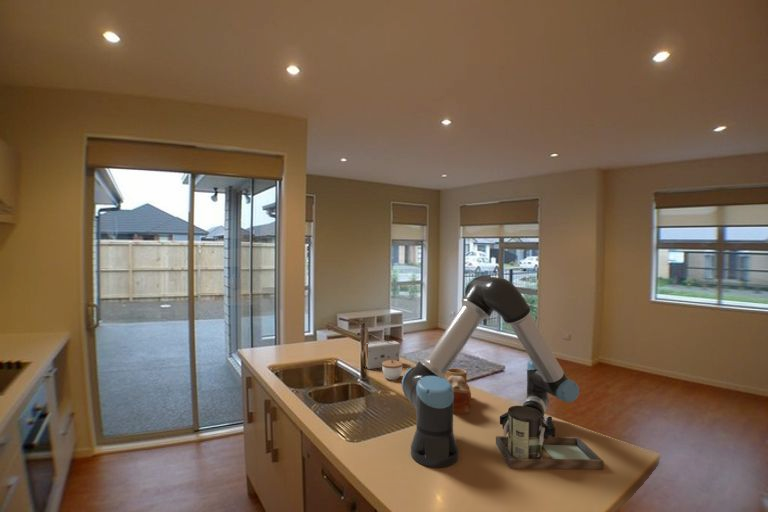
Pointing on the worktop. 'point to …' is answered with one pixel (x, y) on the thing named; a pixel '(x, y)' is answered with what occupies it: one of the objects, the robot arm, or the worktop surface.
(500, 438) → the wooden serving tray
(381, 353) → the stereo radio cassette player
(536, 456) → the coffee can
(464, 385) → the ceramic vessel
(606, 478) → the worktop surface
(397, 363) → the lidded jar
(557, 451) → the pad
